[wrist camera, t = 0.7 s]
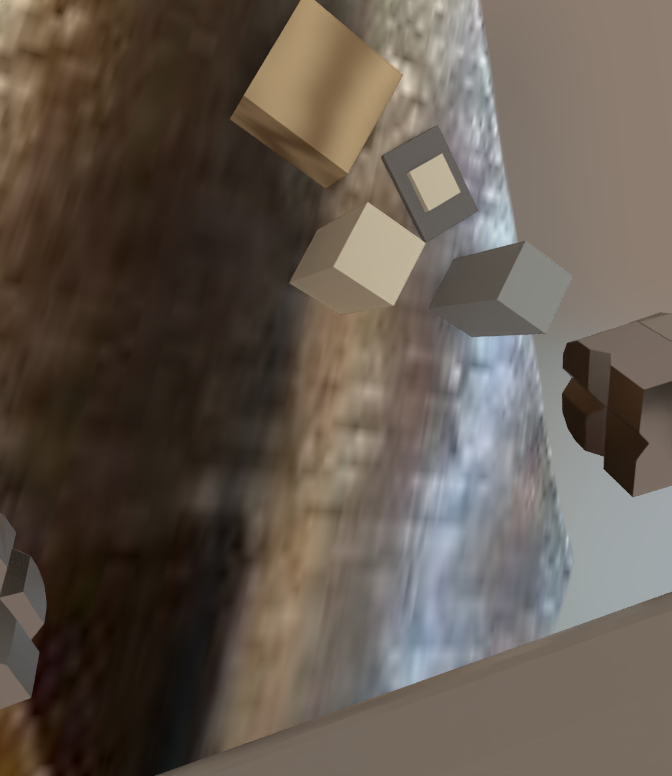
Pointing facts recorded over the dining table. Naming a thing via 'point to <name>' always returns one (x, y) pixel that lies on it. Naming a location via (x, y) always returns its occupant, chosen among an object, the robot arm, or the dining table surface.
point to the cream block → (358, 261)
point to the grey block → (502, 292)
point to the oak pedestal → (317, 94)
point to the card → (429, 183)
